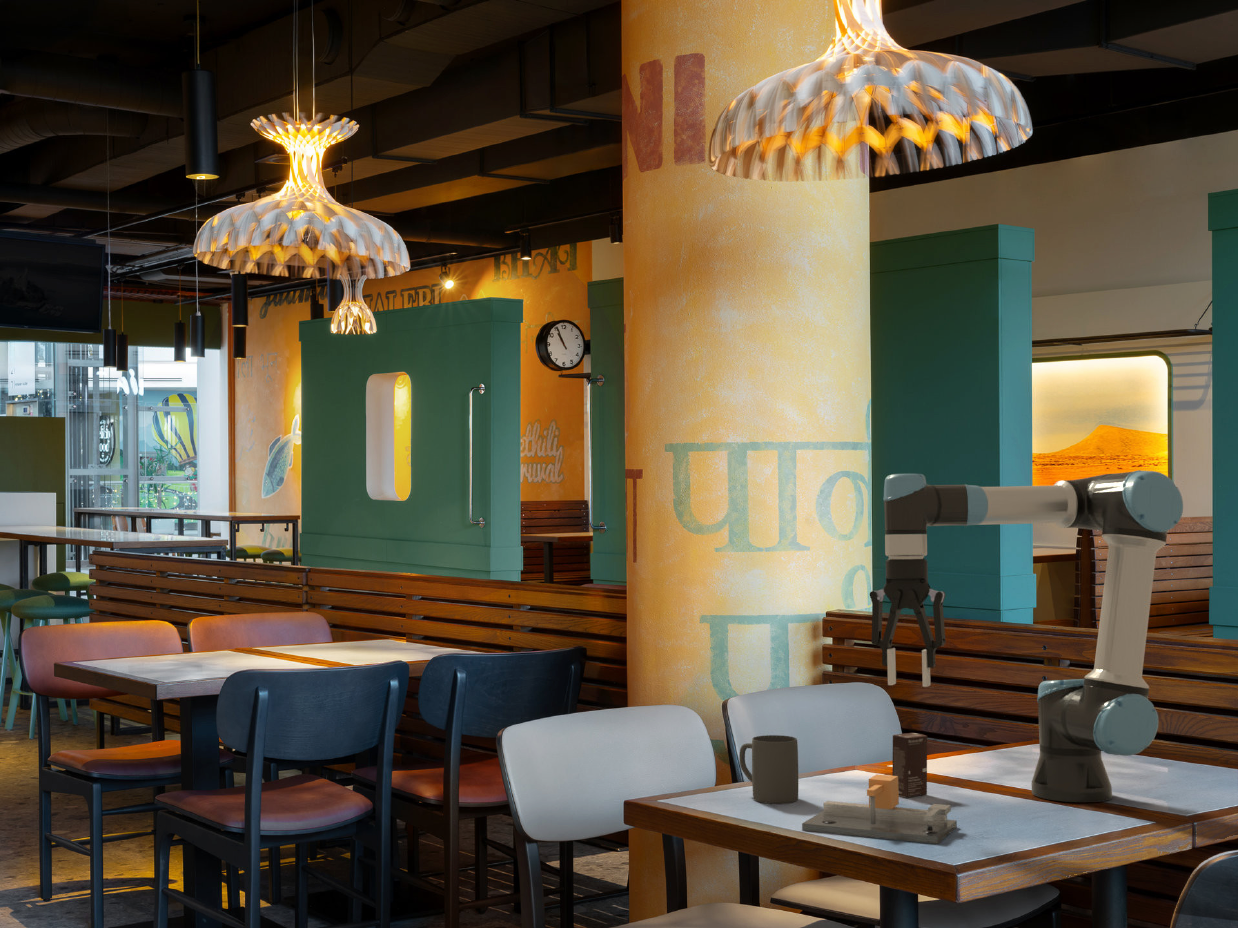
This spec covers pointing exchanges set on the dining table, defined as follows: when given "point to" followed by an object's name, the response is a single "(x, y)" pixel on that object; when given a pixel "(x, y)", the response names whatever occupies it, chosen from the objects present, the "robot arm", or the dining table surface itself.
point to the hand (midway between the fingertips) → (909, 684)
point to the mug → (772, 768)
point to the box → (910, 764)
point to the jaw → (882, 793)
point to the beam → (891, 813)
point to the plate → (878, 828)
